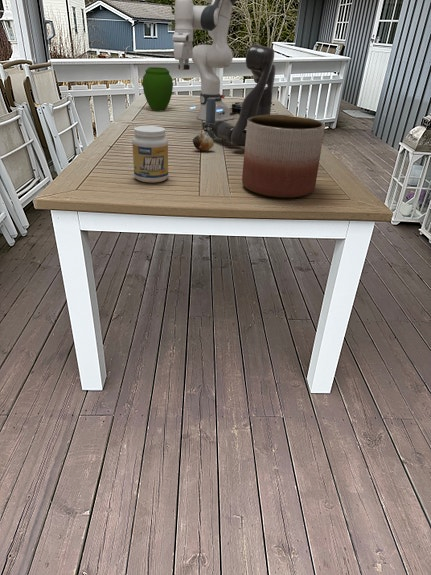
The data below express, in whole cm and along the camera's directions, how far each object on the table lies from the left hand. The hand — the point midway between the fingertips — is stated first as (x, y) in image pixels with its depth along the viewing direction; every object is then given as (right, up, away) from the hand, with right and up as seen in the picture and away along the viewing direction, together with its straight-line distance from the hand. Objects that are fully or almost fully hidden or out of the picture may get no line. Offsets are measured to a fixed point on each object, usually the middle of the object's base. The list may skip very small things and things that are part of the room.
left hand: (183, 69), depth 202 cm
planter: (+37, -73, -58) cm, 101 cm away
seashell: (+10, -47, -19) cm, 52 cm away
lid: (0, +2, -1) cm, 2 cm away
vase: (-22, +8, +66) cm, 70 cm away
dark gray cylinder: (+13, -32, +5) cm, 35 cm away
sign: (+36, +15, +81) cm, 90 cm away
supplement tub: (-7, -69, -55) cm, 89 cm away
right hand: (+12, -25, +4) cm, 28 cm away
